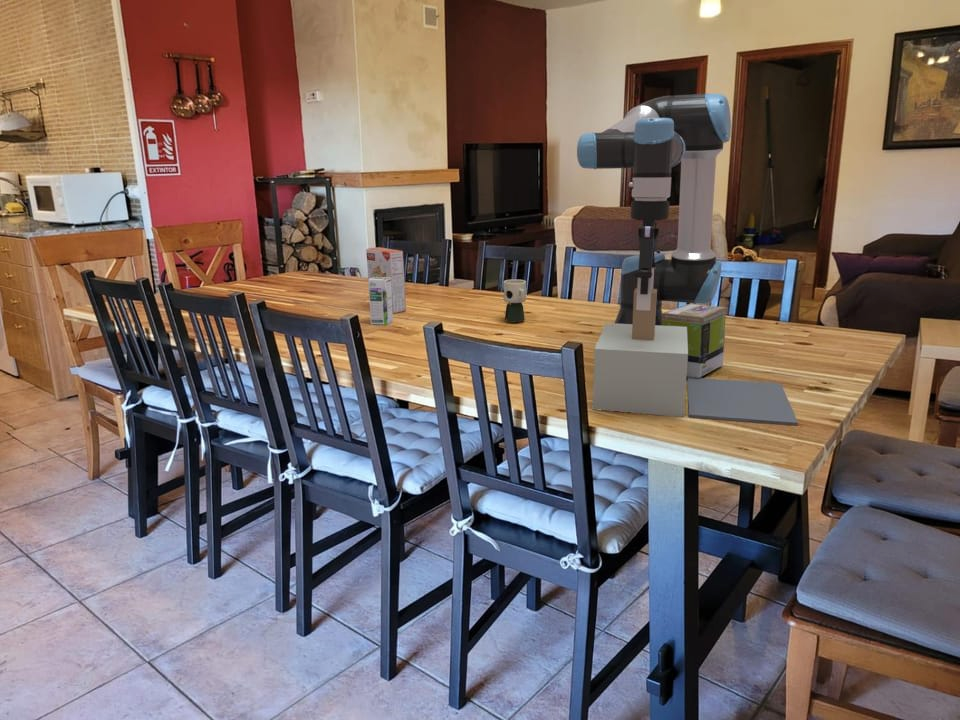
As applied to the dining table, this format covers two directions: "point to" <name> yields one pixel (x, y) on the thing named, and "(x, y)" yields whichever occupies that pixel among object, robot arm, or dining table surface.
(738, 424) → the dining table surface
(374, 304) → the syrup box
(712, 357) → the tea box
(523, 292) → the character mug
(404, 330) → the dining table surface
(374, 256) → the cracker box
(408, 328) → the dining table surface
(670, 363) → the cover
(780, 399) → the mat
